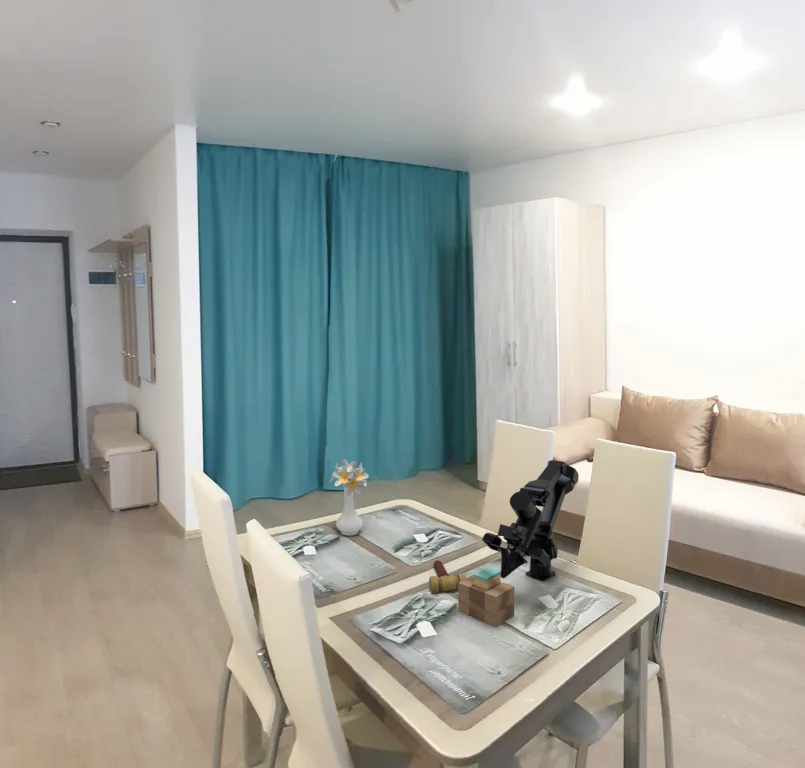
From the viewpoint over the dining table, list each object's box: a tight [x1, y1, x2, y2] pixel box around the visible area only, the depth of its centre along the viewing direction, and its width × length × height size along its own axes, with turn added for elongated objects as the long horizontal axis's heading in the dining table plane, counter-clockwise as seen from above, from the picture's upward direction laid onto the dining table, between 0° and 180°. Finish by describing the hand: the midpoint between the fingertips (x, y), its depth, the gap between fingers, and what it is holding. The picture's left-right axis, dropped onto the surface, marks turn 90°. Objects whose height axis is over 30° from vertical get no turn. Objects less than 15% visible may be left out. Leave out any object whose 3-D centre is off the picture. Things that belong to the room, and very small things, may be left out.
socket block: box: [457, 574, 515, 628], centre depth 173 cm, size 8×12×8 cm, turn 46°
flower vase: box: [328, 459, 370, 537], centre depth 229 cm, size 13×18×25 cm
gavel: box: [428, 559, 467, 594], centre depth 195 cm, size 21×5×10 cm
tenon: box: [473, 566, 502, 591], centre depth 173 cm, size 6×4×11 cm, turn 136°
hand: (502, 577), depth 177 cm, fingers closed
